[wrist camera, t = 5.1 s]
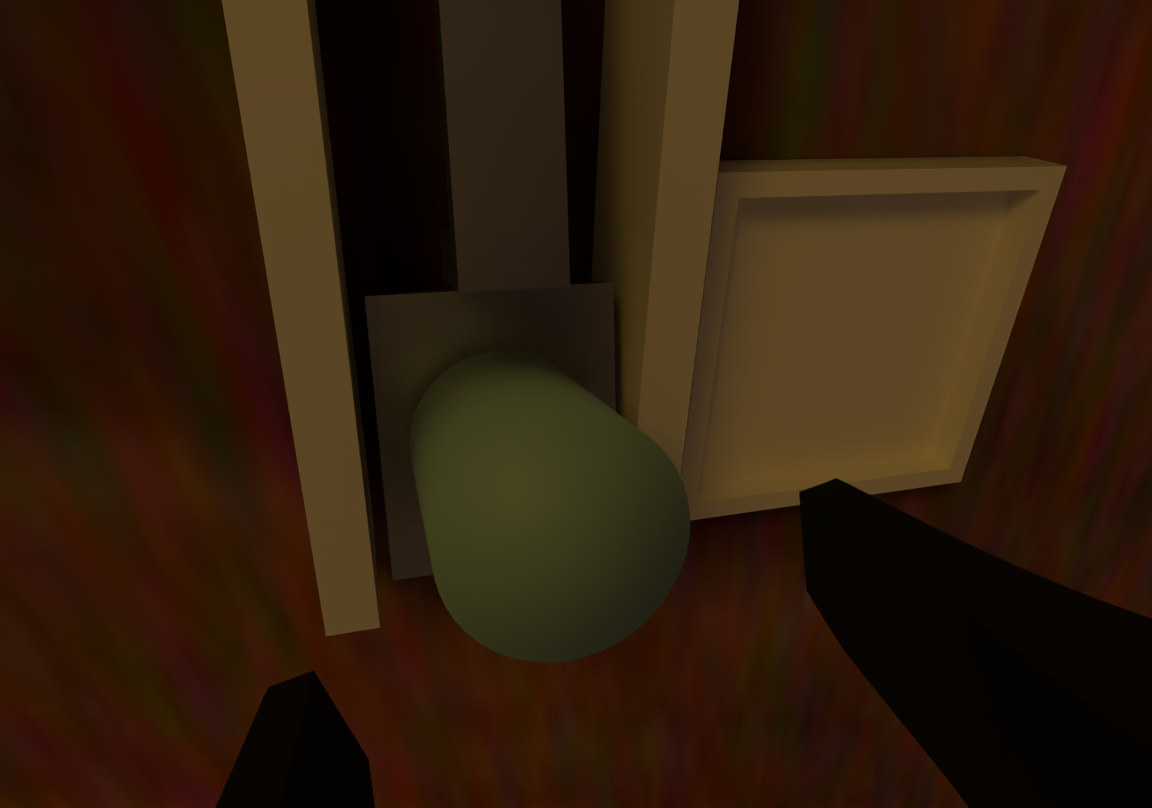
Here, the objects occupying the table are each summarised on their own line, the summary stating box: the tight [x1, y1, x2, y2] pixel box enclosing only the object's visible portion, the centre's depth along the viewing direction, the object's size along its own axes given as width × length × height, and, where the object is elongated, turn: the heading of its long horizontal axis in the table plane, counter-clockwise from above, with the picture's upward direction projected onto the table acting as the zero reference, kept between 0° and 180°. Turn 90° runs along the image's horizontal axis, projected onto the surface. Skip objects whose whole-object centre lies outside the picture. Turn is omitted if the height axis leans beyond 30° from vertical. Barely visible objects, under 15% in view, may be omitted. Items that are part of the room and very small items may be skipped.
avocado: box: [409, 351, 690, 662], centre depth 14 cm, size 4×4×6 cm
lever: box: [365, 0, 616, 580], centre depth 14 cm, size 9×19×4 cm, turn 179°
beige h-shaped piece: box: [222, 0, 739, 636], centre depth 16 cm, size 8×18×4 cm, turn 179°
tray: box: [680, 156, 1067, 520], centre depth 21 cm, size 10×10×1 cm
